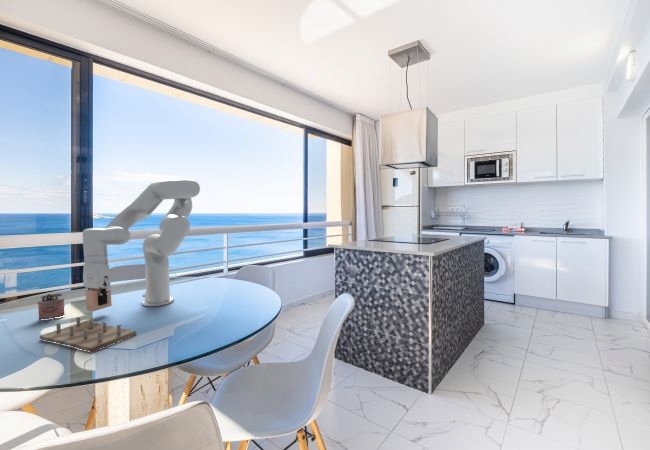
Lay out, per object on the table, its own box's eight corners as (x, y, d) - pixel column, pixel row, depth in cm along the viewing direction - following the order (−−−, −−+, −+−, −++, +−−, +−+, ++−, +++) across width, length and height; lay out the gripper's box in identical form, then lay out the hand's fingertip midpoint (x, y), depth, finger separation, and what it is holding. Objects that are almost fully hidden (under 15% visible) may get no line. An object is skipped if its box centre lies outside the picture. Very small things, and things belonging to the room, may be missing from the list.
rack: (40, 340, 100) (39, 326, 100) (86, 325, 114) (85, 313, 113) (91, 353, 91) (91, 338, 91) (135, 335, 104) (135, 322, 104)
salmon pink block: (86, 310, 121) (85, 290, 120) (105, 304, 127) (103, 285, 127) (93, 311, 119) (92, 291, 119) (111, 305, 126) (110, 286, 125)
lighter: (37, 321, 118) (35, 296, 117) (40, 318, 121) (38, 293, 120) (63, 318, 121) (62, 293, 121) (66, 315, 124) (65, 291, 124)
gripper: (72, 259, 122) (75, 304, 123) (100, 261, 116) (103, 309, 117) (92, 256, 129) (95, 299, 130) (119, 258, 123) (122, 303, 124)
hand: (99, 303), depth 123 cm, fingers closed on salmon pink block, 4 cm apart
